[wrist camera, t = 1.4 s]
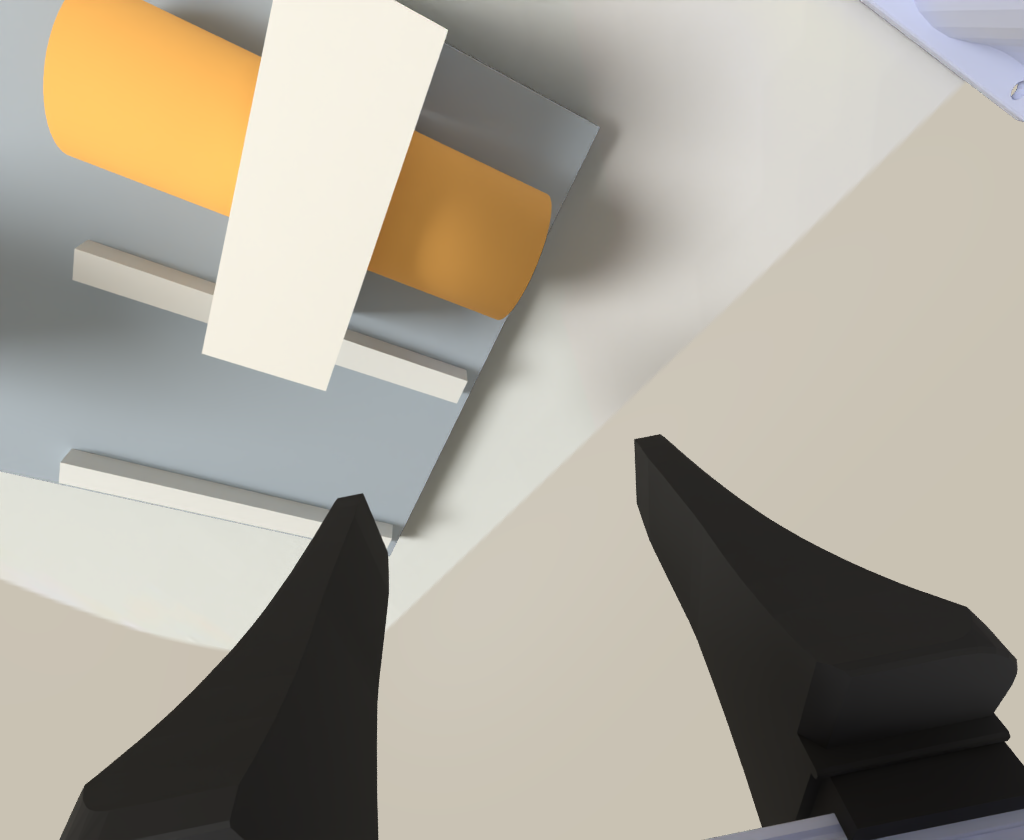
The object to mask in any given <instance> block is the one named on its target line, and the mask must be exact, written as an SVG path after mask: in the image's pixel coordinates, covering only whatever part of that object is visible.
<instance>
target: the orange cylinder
mask: <svg viewBox="0 0 1024 840" xmlns="http://www.w3.org/2000/svg"><path fill="white" fill-rule="evenodd" d="M260 62H261V57H260V56H258V55H256V54H254V53H252V52H250V51H248V50H246V49H244V48H241V47H239V46H237V45H235V44H233V43H231V42H229V41H227V40H225V39H223V38H221V37H219V36H216V35H214V34H212V33H210V32H208V31H206V30H204V29H202V28H200V27H198V26H196V25H193V24H191V23H189V22H187V21H185V20H183V19H181V18H179V17H177V16H175V15H173V14H170V13H168V12H166V11H164V10H162V9H160V8H158V7H156V6H154V5H152V4H150V3H148V2H145V1H143V0H65V1H64V2H63V4H62V6H61V8H60V10H59V12H58V14H57V17H56V19H55V22H54V24H53V27H52V31H51V34H50V37H49V42H48V46H47V51H46V57H45V64H44V76H43V95H44V107H45V114H46V119H47V123H48V127H49V130H50V133H51V135H52V137H53V139H54V141H55V143H56V144H57V146H58V147H59V148H60V150H61V151H62V152H64V153H65V154H66V155H69V156H71V157H74V158H76V159H79V160H82V161H84V162H87V163H89V164H92V165H95V166H97V167H100V168H102V169H105V170H108V171H110V172H113V173H116V174H118V175H121V176H123V177H126V178H129V179H131V180H134V181H136V182H139V183H142V184H144V185H147V186H149V187H152V188H155V189H157V190H160V191H162V192H165V193H168V194H170V195H173V196H176V197H178V198H181V199H183V200H186V201H189V202H191V203H194V204H196V205H199V206H202V207H204V208H207V209H209V210H212V211H215V212H217V213H220V214H222V215H225V216H228V217H229V216H230V211H231V206H232V201H233V196H234V191H235V186H236V181H237V176H238V171H239V166H240V161H241V156H242V151H243V146H244V141H245V136H246V131H247V126H248V121H249V116H250V112H251V107H252V102H253V97H254V92H255V87H256V82H257V77H258V72H259V67H260ZM551 209H552V205H551V198H550V196H549V195H548V194H546V193H544V192H542V191H540V190H538V189H536V188H534V187H532V186H530V185H527V184H525V183H523V182H521V181H519V180H517V179H515V178H513V177H511V176H509V175H507V174H504V173H502V172H500V171H498V170H496V169H494V168H492V167H490V166H488V165H486V164H484V163H482V162H479V161H477V160H475V159H473V158H471V157H469V156H467V155H465V154H463V153H461V152H459V151H456V150H454V149H452V148H450V147H448V146H446V145H444V144H442V143H440V142H438V141H436V140H434V139H431V138H429V137H427V136H425V135H423V134H421V133H419V132H417V131H415V130H414V132H413V135H412V138H411V141H410V144H409V147H408V150H407V153H406V156H405V159H404V162H403V165H402V168H401V171H400V174H399V177H398V180H397V183H396V186H395V189H394V191H393V194H392V197H391V200H390V203H389V206H388V209H387V212H386V215H385V218H384V221H383V224H382V227H381V230H380V233H379V236H378V239H377V242H376V245H375V248H374V250H373V253H372V256H371V259H370V262H369V265H368V268H367V270H368V271H371V272H374V273H376V274H379V275H382V276H384V277H387V278H389V279H392V280H395V281H397V282H400V283H402V284H405V285H408V286H410V287H413V288H415V289H418V290H421V291H423V292H426V293H428V294H431V295H434V296H436V297H439V298H442V299H444V300H447V301H449V302H452V303H455V304H457V305H460V306H462V307H465V308H468V309H470V310H473V311H475V312H478V313H481V314H483V315H486V316H488V317H491V318H494V319H496V320H501V319H503V318H505V317H506V316H507V315H508V314H509V313H510V312H511V311H512V309H513V308H514V307H515V305H516V304H517V303H518V301H519V299H520V298H521V296H522V294H523V293H524V291H525V289H526V287H527V285H528V283H529V281H530V279H531V277H532V275H533V273H534V270H535V268H536V266H537V263H538V261H539V258H540V255H541V253H542V250H543V247H544V244H545V240H546V237H547V233H548V229H549V224H550V219H551Z"/></svg>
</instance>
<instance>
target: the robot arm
mask: <svg viewBox="0 0 1024 840" xmlns="http://www.w3.org/2000/svg"><path fill="white" fill-rule="evenodd" d="M860 1H861V2H863V3H864V4H865V5H867V6H868V7H869V8H871V9H872V10H873V11H874V12H876V13H877V14H878V15H880V16H881V17H882V18H884V19H885V20H886V21H888V22H889V23H890V24H892V25H893V26H894V27H895V28H897V29H898V30H899V31H901V32H902V33H903V34H905V35H906V36H907V37H909V38H910V39H911V40H912V41H914V42H915V43H916V44H918V45H919V46H920V47H922V48H923V49H924V50H926V51H927V52H928V53H929V54H931V55H932V56H933V57H935V58H936V59H937V60H939V61H940V62H941V63H943V64H944V65H945V66H946V67H948V68H949V69H950V70H952V71H953V72H954V73H956V74H957V75H958V76H960V77H961V78H962V79H964V80H965V81H966V82H967V83H969V84H970V85H971V86H973V87H974V88H975V89H977V90H978V91H979V92H981V93H982V94H983V95H984V96H986V97H987V98H988V99H990V100H991V101H992V102H994V103H995V104H996V105H998V106H999V107H1000V108H1002V109H1003V110H1004V111H1005V112H1007V113H1008V114H1009V115H1011V116H1012V117H1013V118H1015V119H1016V120H1018V121H1022V122H1024V0H860ZM1017 83H1018V86H1017V89H1016V91H1015V93H1014V94H1013V95H1012V96H1011V91H1012V90H1013V88H1014V86H1015V85H1016V84H1017ZM634 444H635V468H636V469H635V470H636V495H637V505H638V508H639V511H640V514H641V517H642V520H643V523H644V526H645V528H646V531H647V534H648V537H649V540H650V542H651V544H652V546H653V549H654V551H655V553H656V555H657V557H658V559H659V561H660V563H661V565H662V567H663V569H664V571H665V573H666V575H667V577H668V579H669V581H670V583H671V585H672V587H673V590H674V591H675V593H676V596H677V598H678V600H679V602H680V603H681V606H682V608H683V610H684V612H685V614H686V616H687V618H688V620H689V622H690V624H691V626H692V629H693V631H694V633H695V636H696V638H697V640H698V643H699V646H700V648H701V651H702V654H703V656H704V659H705V662H706V664H707V667H708V670H709V672H710V675H711V678H712V680H713V683H714V686H715V689H716V692H717V695H718V697H719V700H720V703H721V706H722V708H723V711H724V714H725V717H726V720H727V723H728V725H729V728H730V731H731V734H732V737H733V740H734V743H735V746H736V749H737V752H738V755H739V758H740V761H741V764H742V766H743V769H744V773H745V776H746V779H747V782H748V785H749V788H750V791H751V794H752V798H753V801H754V804H755V807H756V810H757V813H758V816H759V819H760V822H761V825H762V828H758V829H754V830H749V831H744V832H739V833H734V834H729V835H724V836H719V837H714V838H709V839H704V840H1024V765H1023V764H1022V763H1021V762H1020V761H1019V759H1018V758H1017V757H1016V756H1015V754H1014V753H1013V752H1012V750H1011V749H1010V748H1009V747H1008V745H1007V744H1006V743H1005V742H1004V741H1008V740H1009V738H1010V734H1009V731H1008V730H1007V729H1006V727H1005V726H1004V725H1003V724H1002V722H1001V721H1000V720H999V719H998V717H997V716H996V715H995V714H994V712H995V710H996V708H997V707H998V705H999V704H1000V702H1001V701H1002V699H1003V698H1004V696H1005V695H1006V693H1007V692H1008V690H1009V689H1010V687H1011V685H1012V684H1013V682H1014V679H1015V677H1016V674H1017V659H1016V658H1015V657H1014V656H1013V655H1012V654H1011V653H1010V652H1009V651H1008V649H1007V648H1006V647H1005V646H1004V645H1003V644H1002V643H1001V642H1000V641H999V639H998V638H997V637H996V636H995V635H994V634H993V632H992V631H991V630H990V629H989V628H988V627H987V626H986V625H985V624H984V623H983V622H982V621H981V620H980V619H979V618H977V616H975V614H974V613H972V612H971V611H970V610H969V609H968V608H967V607H965V606H962V605H959V604H957V603H954V602H951V601H948V600H945V599H942V598H939V597H937V596H933V595H931V594H928V593H925V592H922V591H919V590H916V589H914V588H911V587H908V586H906V585H903V584H900V583H898V582H895V581H893V580H891V579H888V578H885V577H883V576H881V575H878V574H876V573H874V572H871V571H869V570H866V569H864V568H862V567H860V566H858V565H855V564H853V563H851V562H849V561H846V560H844V559H842V558H840V557H838V556H836V555H834V554H832V553H830V552H828V551H826V550H824V549H822V548H820V547H818V546H816V545H814V544H812V543H810V542H808V541H806V540H805V539H803V538H801V537H799V536H797V535H796V534H794V533H792V532H790V531H789V530H787V529H785V528H783V527H782V526H780V525H779V524H777V523H775V522H774V521H772V520H770V519H769V518H767V517H766V516H764V515H763V514H761V513H759V512H758V511H757V510H755V509H754V508H752V507H751V506H750V505H748V504H747V503H745V502H744V501H742V500H741V499H740V498H738V497H737V496H735V495H734V494H733V493H731V492H730V491H729V490H727V489H726V488H725V487H723V486H722V485H721V484H720V483H718V482H717V481H716V480H714V479H713V478H712V477H711V476H709V475H708V474H707V473H705V472H704V471H703V470H702V469H701V468H699V467H698V466H697V465H696V464H695V463H694V462H692V461H691V460H690V459H689V458H687V457H686V456H685V455H684V454H683V453H682V452H681V451H680V450H678V449H677V448H676V447H675V446H674V445H673V444H672V443H670V442H669V441H668V440H667V439H666V438H665V437H663V436H662V435H660V434H659V435H654V436H649V437H644V438H639V439H635V440H634ZM388 596H389V568H388V551H387V549H386V546H385V544H384V542H383V539H382V537H381V534H380V532H379V530H378V527H377V525H376V523H375V520H374V518H373V515H372V513H371V511H370V508H369V506H368V503H367V501H366V499H365V496H364V494H363V493H361V494H356V495H351V496H346V497H341V498H337V499H336V501H335V502H334V504H333V505H332V507H331V509H330V510H329V512H328V514H327V515H326V517H325V519H324V520H323V522H322V524H321V525H320V527H319V529H318V530H317V532H316V534H315V535H314V537H313V539H312V540H311V542H310V544H309V545H308V547H307V548H306V550H305V551H304V553H303V555H302V556H301V558H300V559H299V561H298V562H297V564H296V566H295V567H294V569H293V570H292V572H291V573H290V575H289V576H288V578H287V579H286V581H285V582H284V583H283V585H282V586H281V588H280V589H279V590H278V592H277V593H276V595H275V596H274V597H273V599H272V600H271V602H270V603H269V605H268V606H267V607H266V609H265V610H264V611H263V613H262V614H261V615H260V616H259V618H258V619H257V620H256V622H255V623H254V624H253V625H252V627H251V628H250V629H249V630H248V631H247V633H246V634H245V635H244V636H243V637H242V639H241V640H240V641H239V642H238V643H237V645H236V646H235V647H234V648H233V649H232V650H231V651H230V653H229V654H228V655H227V656H226V657H225V658H224V659H223V660H222V661H221V662H220V663H219V664H218V665H217V666H216V667H215V668H214V669H213V670H212V672H211V673H210V674H209V675H208V676H207V677H206V678H205V679H204V680H203V681H202V682H201V683H200V684H199V685H198V686H197V687H196V688H195V689H194V690H193V691H192V692H191V694H189V695H188V696H187V697H186V698H185V699H184V700H183V701H182V702H181V703H180V704H179V705H178V706H177V707H176V708H175V709H174V710H173V711H172V712H170V713H169V714H168V715H167V716H166V717H165V718H164V719H163V720H162V721H161V722H160V723H159V724H157V725H156V726H155V727H154V728H153V729H152V730H151V731H150V732H148V733H147V734H146V735H145V736H144V737H143V738H142V739H140V740H139V741H138V742H137V743H136V744H134V745H133V746H132V747H131V748H130V749H128V750H127V751H126V752H125V753H124V754H122V755H121V756H120V757H119V758H118V759H116V760H115V761H114V762H113V763H112V764H110V765H109V766H108V767H107V768H105V769H104V770H103V771H102V772H101V773H99V774H98V775H97V776H96V777H94V778H93V779H92V780H91V781H89V782H88V783H87V784H85V786H84V788H83V790H82V792H81V794H80V796H79V798H78V801H77V802H76V805H75V807H74V809H73V811H72V813H71V815H70V818H69V820H68V822H67V825H66V827H65V829H64V831H63V833H62V835H61V838H60V840H378V810H377V700H378V687H379V677H380V668H381V659H382V651H383V642H384V633H385V624H386V615H387V606H388Z"/></svg>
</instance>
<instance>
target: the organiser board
mask: <svg viewBox="0 0 1024 840" xmlns="http://www.w3.org/2000/svg"><path fill="white" fill-rule="evenodd" d="M64 1H65V0H0V471H1V472H6V473H10V474H15V475H19V476H24V477H29V478H33V479H38V480H42V481H47V482H52V483H56V484H61V485H65V486H70V487H75V488H79V489H84V490H88V491H93V492H97V493H102V494H107V495H111V496H116V497H120V498H125V499H130V500H134V501H139V502H143V503H148V504H153V505H157V506H162V507H166V508H171V509H175V510H180V511H185V512H189V513H194V514H198V515H203V516H208V517H212V518H217V519H221V520H226V521H230V522H235V523H240V524H244V525H249V526H253V527H258V528H263V529H267V530H272V531H276V532H281V533H286V534H290V535H295V536H299V537H304V538H308V539H313V537H314V535H315V534H316V532H317V530H318V529H319V527H320V525H321V524H322V522H323V520H324V519H325V517H326V515H327V514H328V512H329V510H330V509H331V507H332V505H333V504H334V502H335V501H336V499H337V498H341V497H346V496H351V495H356V494H361V493H363V494H364V496H365V499H366V501H367V503H368V506H369V508H370V511H371V513H372V515H373V518H374V520H375V523H376V525H377V527H378V530H379V532H380V534H381V537H382V539H383V542H384V544H385V546H386V549H387V551H388V556H390V555H391V553H392V551H393V549H394V547H395V545H396V543H397V541H398V539H399V537H400V535H401V533H402V531H403V529H404V526H405V524H406V522H407V520H408V518H409V516H410V514H411V512H412V510H413V508H414V506H415V504H416V502H417V500H418V498H419V496H420V494H421V492H422V490H423V488H424V486H425V484H426V482H427V480H428V478H429V475H430V473H431V471H432V469H433V467H434V465H435V463H436V461H437V459H438V457H439V455H440V453H441V451H442V449H443V447H444V445H445V443H446V441H447V439H448V437H449V435H450V433H451V431H452V429H453V427H454V424H455V422H456V420H457V418H458V416H459V414H460V412H461V410H462V408H463V406H464V404H465V402H466V400H467V398H468V396H469V394H470V392H471V390H472V388H473V386H474V384H475V382H476V380H477V378H478V376H479V373H480V371H481V369H482V367H483V365H484V363H485V361H486V359H487V357H488V355H489V353H490V351H491V349H492V347H493V345H494V343H495V341H496V339H497V337H498V335H499V333H500V331H501V329H502V327H503V325H504V322H505V320H506V318H507V316H508V315H507V316H506V317H505V318H503V319H501V320H496V319H494V318H491V317H488V316H486V315H483V314H481V313H478V312H475V311H473V310H470V309H468V308H465V307H462V306H460V305H457V304H455V303H452V302H449V301H447V300H444V299H442V298H439V297H436V296H434V295H431V294H428V293H426V292H423V291H421V290H418V289H415V288H413V287H410V286H408V285H405V284H402V283H400V282H397V281H395V280H392V279H389V278H387V277H384V276H382V275H379V274H376V273H374V272H371V271H368V270H367V271H366V274H365V277H364V280H363V283H362V286H361V289H360V292H359V295H358V298H357V301H356V304H355V307H354V309H353V312H352V315H351V318H350V321H349V324H348V327H347V330H346V333H345V336H344V339H343V342H342V345H341V348H340V351H339V354H338V357H337V360H336V363H335V366H334V368H333V371H332V374H331V377H330V380H329V383H328V386H327V389H326V391H323V390H320V389H316V388H313V387H310V386H307V385H303V384H300V383H297V382H294V381H290V380H287V379H284V378H280V377H277V376H274V375H271V374H267V373H264V372H261V371H257V370H254V369H251V368H248V367H244V366H241V365H238V364H234V363H231V362H228V361H225V360H221V359H218V358H215V357H211V356H208V355H205V354H202V350H203V345H204V340H205V335H206V330H207V325H208V320H209V315H210V310H211V305H212V300H213V295H214V290H215V285H216V280H217V275H218V270H219V265H220V260H221V255H222V250H223V245H224V240H225V235H226V231H227V226H228V221H229V217H228V216H225V215H222V214H220V213H217V212H215V211H212V210H209V209H207V208H204V207H202V206H199V205H196V204H194V203H191V202H189V201H186V200H183V199H181V198H178V197H176V196H173V195H170V194H168V193H165V192H162V191H160V190H157V189H155V188H152V187H149V186H147V185H144V184H142V183H139V182H136V181H134V180H131V179H129V178H126V177H123V176H121V175H118V174H116V173H113V172H110V171H108V170H105V169H102V168H100V167H97V166H95V165H92V164H89V163H87V162H84V161H82V160H79V159H76V158H74V157H71V156H69V155H66V154H65V153H64V152H62V151H61V150H60V148H59V147H58V146H57V144H56V143H55V141H54V139H53V137H52V135H51V133H50V130H49V127H48V123H47V119H46V114H45V107H44V95H43V76H44V64H45V57H46V51H47V46H48V42H49V37H50V34H51V31H52V27H53V24H54V22H55V19H56V17H57V14H58V12H59V10H60V8H61V6H62V4H63V2H64ZM143 1H145V2H148V3H150V4H152V5H154V6H156V7H158V8H160V9H162V10H164V11H166V12H168V13H170V14H173V15H175V16H177V17H179V18H181V19H183V20H185V21H187V22H189V23H191V24H193V25H196V26H198V27H200V28H202V29H204V30H206V31H208V32H210V33H212V34H214V35H216V36H219V37H221V38H223V39H225V40H227V41H229V42H231V43H233V44H235V45H237V46H239V47H241V48H244V49H246V50H248V51H250V52H252V53H254V54H256V55H258V56H260V57H262V52H263V47H264V42H265V37H266V32H267V27H268V22H269V17H270V12H271V7H272V2H273V0H143ZM599 129H600V127H598V126H597V125H595V124H593V123H592V122H590V121H588V120H586V119H585V118H583V117H581V116H579V115H577V114H575V113H574V112H572V111H570V110H568V109H566V108H564V107H562V106H561V105H559V104H557V103H555V102H553V101H551V100H550V99H548V98H546V97H544V96H542V95H540V94H538V93H537V92H535V91H533V90H531V89H529V88H527V87H526V86H524V85H522V84H520V83H518V82H516V81H514V80H513V79H511V78H509V77H507V76H505V75H503V74H502V73H500V72H498V71H496V70H494V69H492V68H491V67H489V66H487V65H485V64H483V63H481V62H479V61H478V60H476V59H474V58H472V57H470V56H468V55H467V54H465V53H463V52H461V51H459V50H457V49H455V48H454V47H452V46H450V45H448V44H446V43H444V44H443V47H442V50H441V53H440V56H439V59H438V62H437V65H436V68H435V71H434V73H433V76H432V79H431V82H430V85H429V88H428V91H427V94H426V97H425V100H424V103H423V106H422V109H421V112H420V115H419V118H418V121H417V124H416V127H415V131H417V132H419V133H421V134H423V135H425V136H427V137H429V138H431V139H434V140H436V141H438V142H440V143H442V144H444V145H446V146H448V147H450V148H452V149H454V150H456V151H459V152H461V153H463V154H465V155H467V156H469V157H471V158H473V159H475V160H477V161H479V162H482V163H484V164H486V165H488V166H490V167H492V168H494V169H496V170H498V171H500V172H502V173H504V174H507V175H509V176H511V177H513V178H515V179H517V180H519V181H521V182H523V183H525V184H527V185H530V186H532V187H534V188H536V189H538V190H540V191H542V192H544V193H546V194H548V195H549V196H550V198H551V205H552V209H551V219H550V224H549V229H548V233H549V231H550V229H551V227H552V225H553V223H554V220H555V218H556V216H557V214H558V212H559V210H560V208H561V206H562V204H563V202H564V200H565V198H566V196H567V194H568V192H569V190H570V188H571V186H572V184H573V182H574V180H575V178H576V176H577V174H578V172H579V169H580V167H581V165H582V163H583V161H584V159H585V157H586V155H587V153H588V151H589V149H590V147H591V145H592V143H593V141H594V139H595V137H596V135H597V133H598V131H599ZM548 233H547V235H548Z"/></svg>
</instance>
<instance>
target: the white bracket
mask: <svg viewBox="0 0 1024 840" xmlns="http://www.w3.org/2000/svg"><path fill="white" fill-rule="evenodd" d="M447 32H448V30H447V29H446V28H444V27H442V26H440V25H438V24H437V23H435V22H433V21H431V20H429V19H427V18H426V17H424V16H422V15H420V14H418V13H417V12H415V11H413V10H411V9H409V8H408V7H406V6H404V5H402V4H400V3H398V2H397V1H395V0H273V2H272V7H271V12H270V17H269V22H268V27H267V32H266V37H265V42H264V47H263V52H262V57H261V62H260V67H259V72H258V77H257V82H256V87H255V92H254V97H253V102H252V107H251V112H250V116H249V121H248V126H247V131H246V136H245V141H244V146H243V151H242V156H241V161H240V166H239V171H238V176H237V181H236V186H235V191H234V196H233V201H232V206H231V211H230V216H229V221H228V226H227V231H226V235H225V240H224V245H223V250H222V255H221V260H220V265H219V270H218V275H217V280H216V285H215V290H214V295H213V300H212V305H211V310H210V315H209V320H208V325H207V330H206V335H205V340H204V345H203V350H202V354H205V355H208V356H211V357H215V358H218V359H221V360H225V361H228V362H231V363H234V364H238V365H241V366H244V367H248V368H251V369H254V370H257V371H261V372H264V373H267V374H271V375H274V376H277V377H280V378H284V379H287V380H290V381H294V382H297V383H300V384H303V385H307V386H310V387H313V388H316V389H320V390H323V391H326V389H327V386H328V383H329V380H330V377H331V374H332V371H333V368H334V366H335V363H336V360H337V357H338V354H339V351H340V348H341V345H342V342H343V339H344V336H345V333H346V330H347V327H348V324H349V321H350V318H351V315H352V312H353V309H354V307H355V304H356V301H357V298H358V295H359V292H360V289H361V286H362V283H363V280H364V277H365V274H366V271H367V268H368V265H369V262H370V259H371V256H372V253H373V250H374V248H375V245H376V242H377V239H378V236H379V233H380V230H381V227H382V224H383V221H384V218H385V215H386V212H387V209H388V206H389V203H390V200H391V197H392V194H393V191H394V189H395V186H396V183H397V180H398V177H399V174H400V171H401V168H402V165H403V162H404V159H405V156H406V153H407V150H408V147H409V144H410V141H411V138H412V135H413V132H414V130H415V127H416V124H417V121H418V118H419V115H420V112H421V109H422V106H423V103H424V100H425V97H426V94H427V91H428V88H429V85H430V82H431V79H432V76H433V73H434V71H435V68H436V65H437V62H438V59H439V56H440V53H441V50H442V47H443V44H444V41H445V38H446V35H447Z"/></svg>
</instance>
